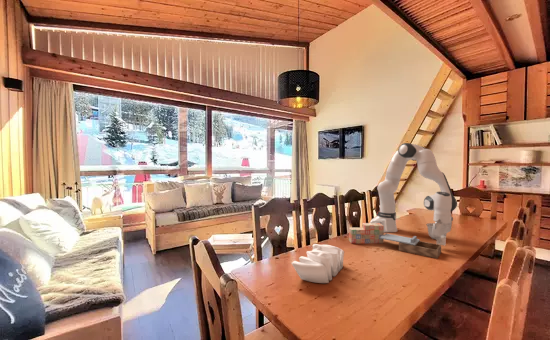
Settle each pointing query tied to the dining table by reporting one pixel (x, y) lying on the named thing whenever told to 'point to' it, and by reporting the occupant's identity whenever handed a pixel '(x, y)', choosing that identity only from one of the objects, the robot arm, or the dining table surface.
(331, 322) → the dining table surface
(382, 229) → the stack of blocks
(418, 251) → the box
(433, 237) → the teacup
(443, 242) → the cube
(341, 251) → the wavy white extrusion
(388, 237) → the lid
